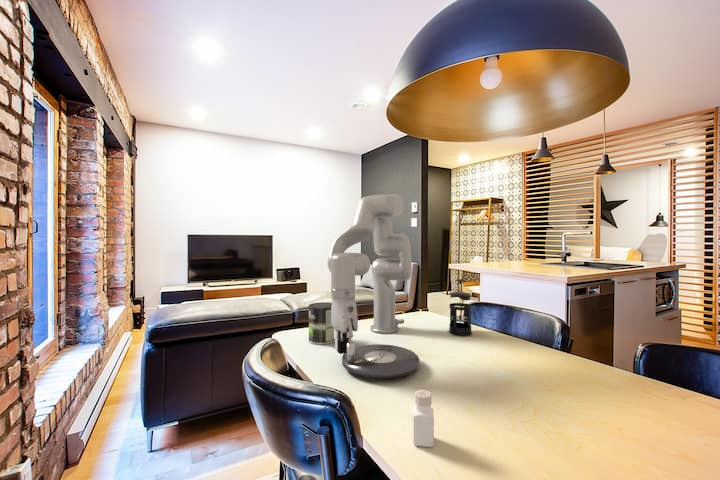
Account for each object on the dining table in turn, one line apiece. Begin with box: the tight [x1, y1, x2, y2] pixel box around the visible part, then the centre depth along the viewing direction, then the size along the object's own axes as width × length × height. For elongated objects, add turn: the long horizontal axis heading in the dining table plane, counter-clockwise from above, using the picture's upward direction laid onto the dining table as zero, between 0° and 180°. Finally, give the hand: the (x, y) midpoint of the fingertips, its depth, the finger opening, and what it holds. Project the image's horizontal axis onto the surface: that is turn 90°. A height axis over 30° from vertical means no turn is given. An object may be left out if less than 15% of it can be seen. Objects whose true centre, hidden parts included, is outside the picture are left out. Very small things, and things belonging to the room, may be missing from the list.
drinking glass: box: [334, 329, 353, 351], centre depth 115 cm, size 7×7×10 cm
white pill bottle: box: [412, 389, 435, 448], centre depth 62 cm, size 4×4×10 cm
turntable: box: [341, 341, 420, 379], centre depth 99 cm, size 24×24×9 cm
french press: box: [448, 278, 473, 337], centre depth 135 cm, size 12×9×23 cm
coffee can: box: [308, 302, 335, 346], centre depth 125 cm, size 10×10×14 cm
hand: (343, 352), depth 99 cm, fingers closed
